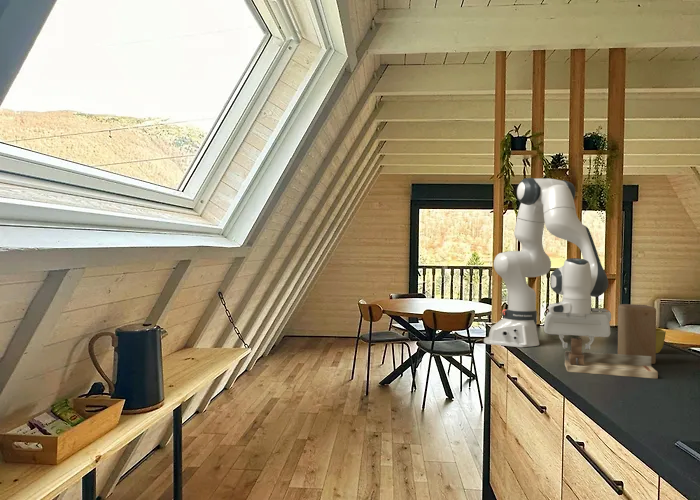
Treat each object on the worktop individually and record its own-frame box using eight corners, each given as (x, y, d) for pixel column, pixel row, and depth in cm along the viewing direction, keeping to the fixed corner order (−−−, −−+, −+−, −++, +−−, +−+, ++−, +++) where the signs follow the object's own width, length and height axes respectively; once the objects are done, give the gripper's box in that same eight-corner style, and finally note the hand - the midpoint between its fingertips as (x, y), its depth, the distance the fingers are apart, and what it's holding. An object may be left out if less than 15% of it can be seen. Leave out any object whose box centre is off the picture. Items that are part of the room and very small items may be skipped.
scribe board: (567, 371, 169) (567, 356, 169) (564, 365, 178) (564, 350, 178) (657, 378, 161) (657, 362, 161) (650, 371, 170) (650, 356, 170)
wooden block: (656, 365, 180) (657, 307, 180) (625, 363, 182) (626, 306, 182) (646, 359, 190) (646, 304, 190) (616, 357, 192) (617, 303, 192)
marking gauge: (570, 364, 169) (570, 340, 169) (568, 360, 176) (568, 336, 176) (583, 365, 168) (584, 341, 168) (581, 361, 175) (581, 337, 174)
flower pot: (660, 350, 206) (660, 328, 206) (665, 354, 198) (666, 331, 197) (635, 349, 209) (635, 326, 209) (639, 353, 200) (640, 330, 200)
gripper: (609, 307, 172) (609, 349, 172) (544, 305, 178) (543, 345, 178) (612, 309, 166) (612, 352, 166) (544, 307, 172) (544, 348, 172)
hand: (576, 348), depth 172 cm, fingers open, 5 cm apart
